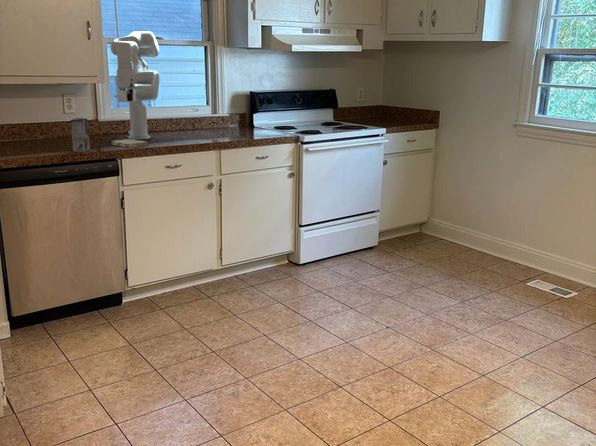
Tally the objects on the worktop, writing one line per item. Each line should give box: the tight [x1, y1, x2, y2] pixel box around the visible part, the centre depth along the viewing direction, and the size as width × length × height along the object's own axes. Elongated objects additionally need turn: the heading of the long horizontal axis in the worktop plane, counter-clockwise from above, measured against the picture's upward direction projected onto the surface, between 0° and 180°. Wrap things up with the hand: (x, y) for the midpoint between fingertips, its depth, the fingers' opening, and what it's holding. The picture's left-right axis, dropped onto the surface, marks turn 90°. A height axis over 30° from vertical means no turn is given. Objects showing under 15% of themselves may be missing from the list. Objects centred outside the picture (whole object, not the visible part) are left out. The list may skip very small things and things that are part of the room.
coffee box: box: [70, 117, 91, 153], centre depth 310 cm, size 9×6×16 cm
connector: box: [113, 89, 136, 103], centre depth 324 cm, size 4×12×6 cm, turn 142°
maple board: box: [111, 138, 149, 149], centre depth 332 cm, size 16×12×2 cm
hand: (127, 100), depth 326 cm, fingers closed on connector, 4 cm apart
